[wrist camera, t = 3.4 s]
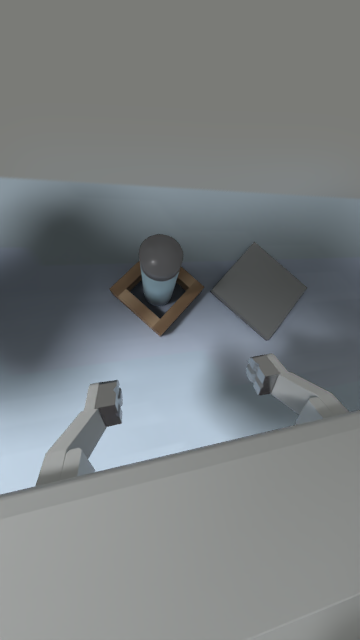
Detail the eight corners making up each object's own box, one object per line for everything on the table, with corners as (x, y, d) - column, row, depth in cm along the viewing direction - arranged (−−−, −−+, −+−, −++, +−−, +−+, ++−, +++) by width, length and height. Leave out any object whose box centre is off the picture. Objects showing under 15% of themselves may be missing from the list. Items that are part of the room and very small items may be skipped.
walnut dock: (112, 293, 28) (109, 288, 26) (156, 252, 30) (156, 244, 28) (160, 336, 28) (160, 335, 26) (201, 291, 30) (204, 287, 28)
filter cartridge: (138, 293, 28) (129, 254, 18) (157, 274, 29) (159, 226, 18) (159, 311, 28) (162, 284, 18) (177, 292, 29) (191, 254, 18)
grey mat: (210, 291, 30) (211, 289, 29) (251, 244, 32) (254, 241, 32) (265, 340, 30) (268, 339, 29) (303, 289, 32) (307, 287, 31)
